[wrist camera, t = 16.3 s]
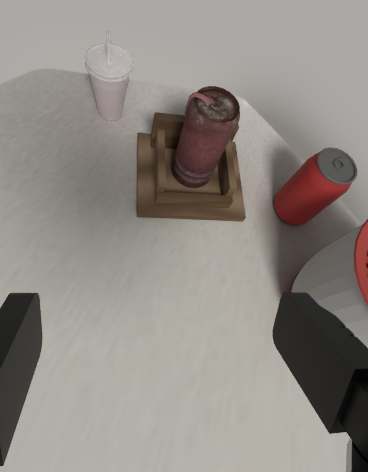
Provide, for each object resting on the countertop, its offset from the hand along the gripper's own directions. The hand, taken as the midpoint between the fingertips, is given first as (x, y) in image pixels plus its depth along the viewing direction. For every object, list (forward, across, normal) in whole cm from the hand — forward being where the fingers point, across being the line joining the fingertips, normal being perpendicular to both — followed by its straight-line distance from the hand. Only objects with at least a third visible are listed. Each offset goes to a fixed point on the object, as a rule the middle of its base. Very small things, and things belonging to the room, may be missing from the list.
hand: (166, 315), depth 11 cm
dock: (+40, -9, +4) cm, 41 cm away
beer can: (+37, -25, +7) cm, 45 cm away
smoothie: (+48, +4, -5) cm, 49 cm away
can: (+39, -9, +3) cm, 40 cm away
